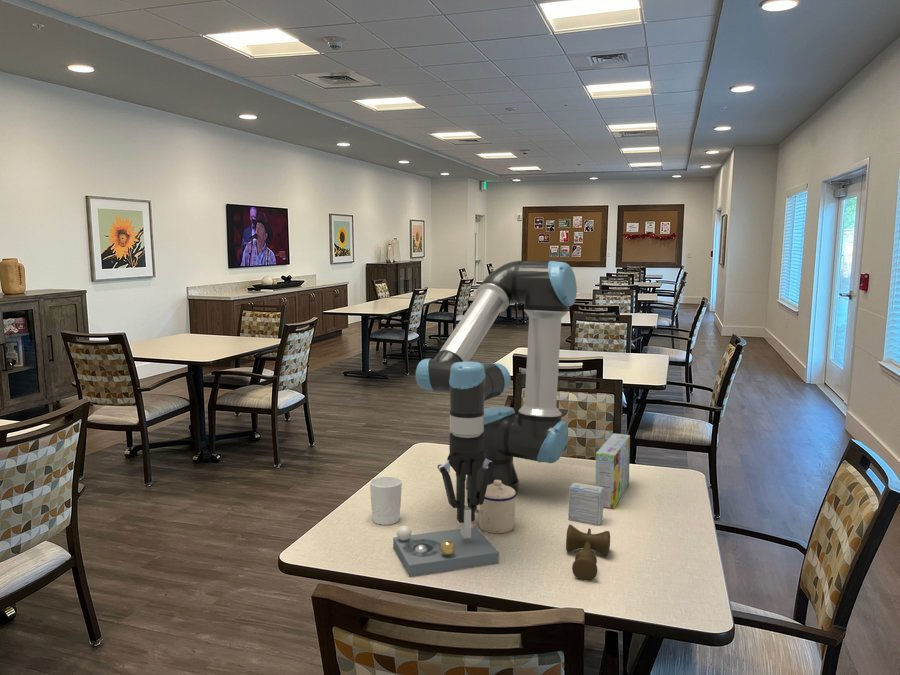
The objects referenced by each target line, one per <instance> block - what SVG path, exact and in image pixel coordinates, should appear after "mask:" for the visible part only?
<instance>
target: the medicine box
mask: <svg viewBox="0 0 900 675" xmlns="http://www.w3.org/2000/svg"><path fill="white" fill-rule="evenodd" d="M568 492H569V493H568V517H567V518H568V519H567V520H569V521H573V522H578V523H585V524H590V525H596V526H600V525H601V523H602V520H603V519H604V518H603V517H604V508H603V492H604V488H603V487H599V486H596V485H591V484H586V483H585V484H584V483H579V482H578V483H577V482H573V483H572V484H571V485H570V487H568Z"/></svg>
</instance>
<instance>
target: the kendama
mask: <svg viewBox="0 0 900 675" xmlns="http://www.w3.org/2000/svg"><path fill="white" fill-rule="evenodd" d="M567 526H568V527H567V530H566V538H565V549H566V550H565V551H566V552H567V553H572V552H573V551H574V552H575V551H576V550H578V549H579V550H580V549H582V550H580V551H577V553H576V554H575V556H574V561H573V563H572V567H571V569H572V570H571V571H572V574H573V576H574V577H575V578H576V579H578V580H581V581H584V580H588V581H587V582H590V581H593V580H594V579H595V578H596V577H597V576H598V575H597V574H598V566H597V563H598V558H597V555H595V554H596V553H598V554H600V555H601V556H603V557H605V558H607V557H609V554H610V550H611V532H610V531H609V530H605V531H602V532H599V533H592V531H591V530H592V529H591V528H588V529H587V533H586V532H583V531H580V530H579V529H578V528H576V527H575V526H573V525H572V524H568V525H567ZM592 551H595V552H596V553H593V552H592ZM589 580H590V581H589Z"/></svg>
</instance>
